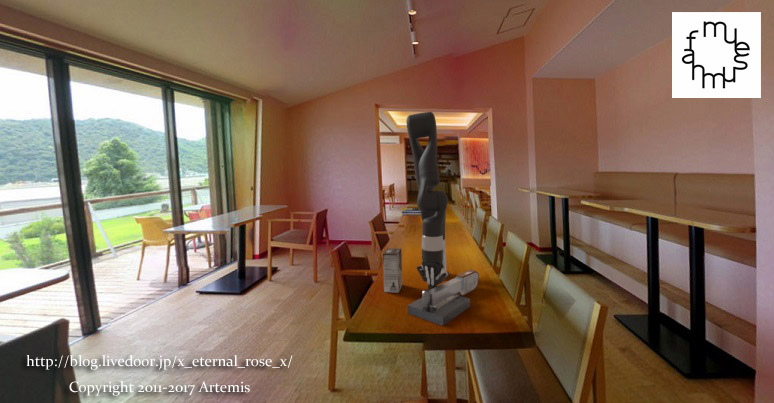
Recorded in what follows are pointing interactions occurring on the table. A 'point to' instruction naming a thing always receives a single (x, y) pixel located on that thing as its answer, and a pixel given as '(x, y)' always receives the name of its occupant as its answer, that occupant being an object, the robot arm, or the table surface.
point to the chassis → (438, 308)
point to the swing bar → (446, 290)
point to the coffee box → (392, 270)
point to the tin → (469, 281)
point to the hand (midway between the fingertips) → (432, 294)
